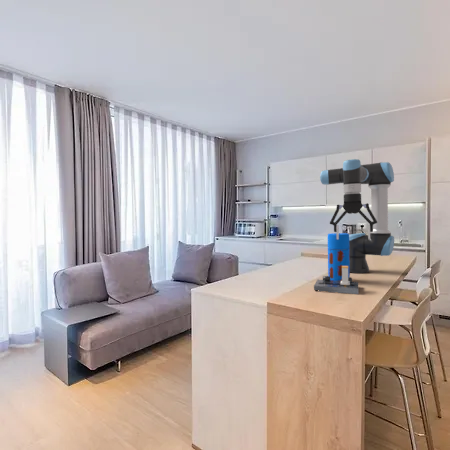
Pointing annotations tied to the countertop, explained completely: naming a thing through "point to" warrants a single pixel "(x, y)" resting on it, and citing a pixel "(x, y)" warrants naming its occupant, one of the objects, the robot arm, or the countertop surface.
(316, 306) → the countertop surface
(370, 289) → the countertop surface
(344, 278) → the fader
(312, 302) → the countertop surface
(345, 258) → the thermos
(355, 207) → the robot arm
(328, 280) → the console
